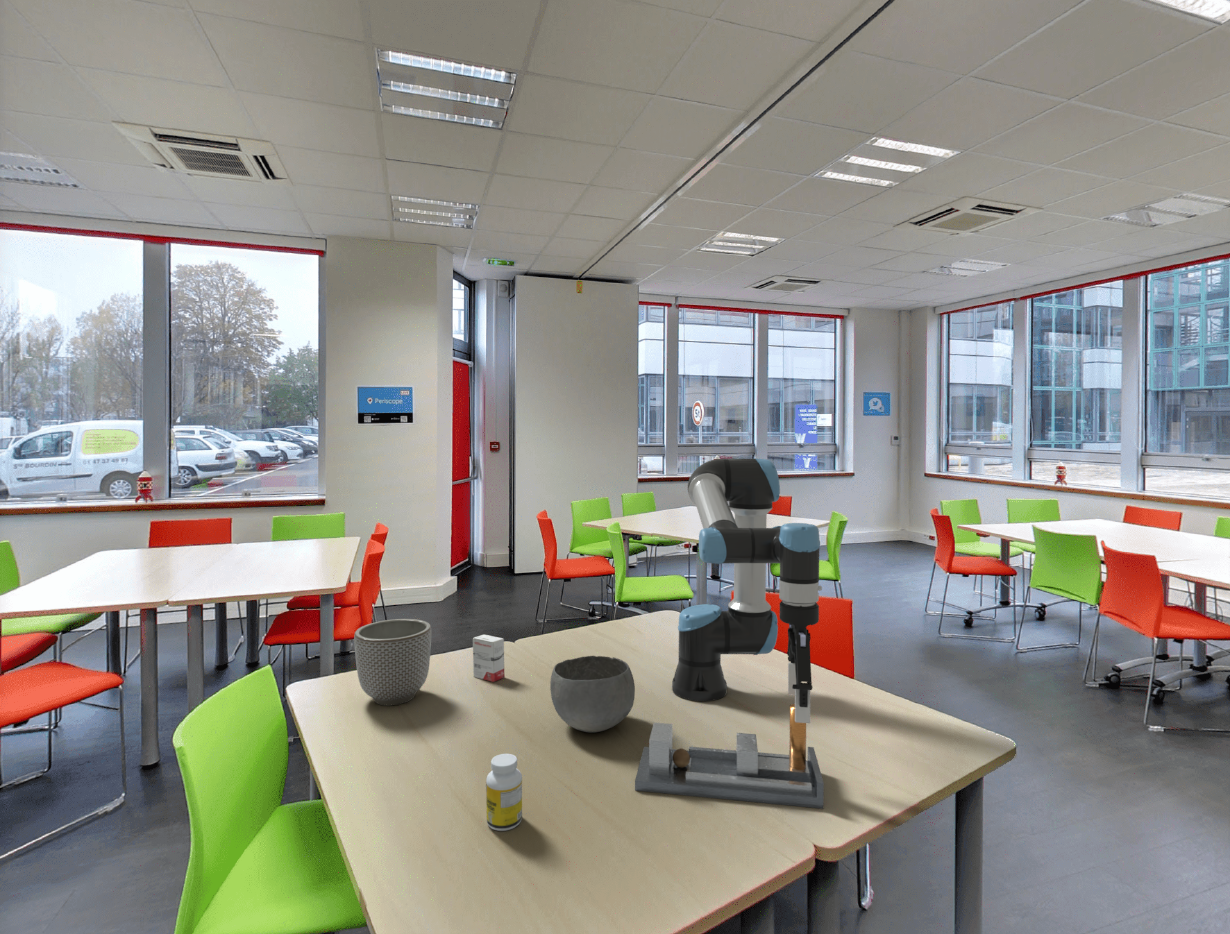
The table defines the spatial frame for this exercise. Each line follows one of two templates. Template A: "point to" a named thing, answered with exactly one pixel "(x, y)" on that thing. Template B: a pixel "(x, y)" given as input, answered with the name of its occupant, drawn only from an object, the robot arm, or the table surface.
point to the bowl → (592, 692)
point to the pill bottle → (504, 793)
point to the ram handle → (774, 767)
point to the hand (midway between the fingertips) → (798, 707)
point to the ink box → (488, 657)
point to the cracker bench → (720, 775)
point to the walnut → (681, 758)
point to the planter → (393, 659)
